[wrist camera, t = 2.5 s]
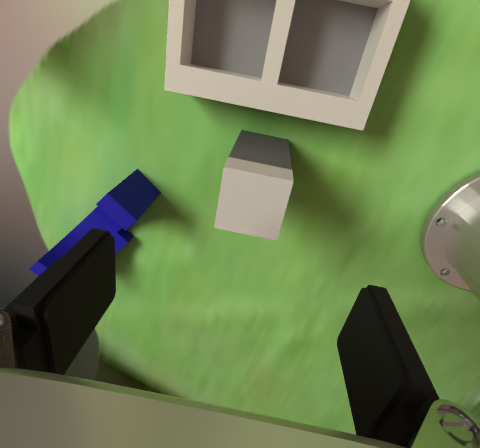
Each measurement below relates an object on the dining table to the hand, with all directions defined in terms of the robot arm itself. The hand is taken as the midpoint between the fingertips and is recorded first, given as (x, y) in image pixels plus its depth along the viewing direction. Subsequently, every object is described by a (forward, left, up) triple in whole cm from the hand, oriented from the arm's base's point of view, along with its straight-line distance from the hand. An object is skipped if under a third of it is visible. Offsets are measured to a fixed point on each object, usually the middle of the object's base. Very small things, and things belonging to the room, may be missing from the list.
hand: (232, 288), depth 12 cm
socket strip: (0, -9, -18) cm, 20 cm away
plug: (0, 0, -18) cm, 18 cm away
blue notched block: (+13, +10, -18) cm, 24 cm away
